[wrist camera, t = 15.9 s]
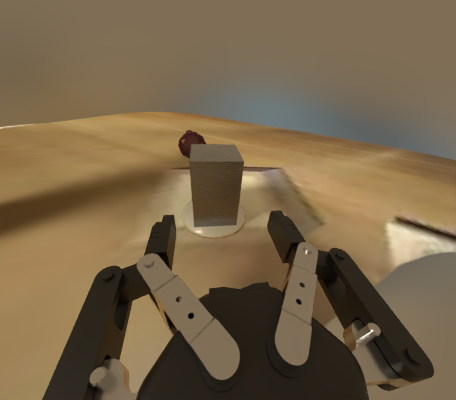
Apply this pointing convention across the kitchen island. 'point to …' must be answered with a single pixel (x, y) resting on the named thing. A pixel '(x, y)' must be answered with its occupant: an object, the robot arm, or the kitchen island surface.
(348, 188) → the kitchen island surface
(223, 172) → the grey block
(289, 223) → the robot arm
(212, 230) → the saucer
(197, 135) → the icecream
